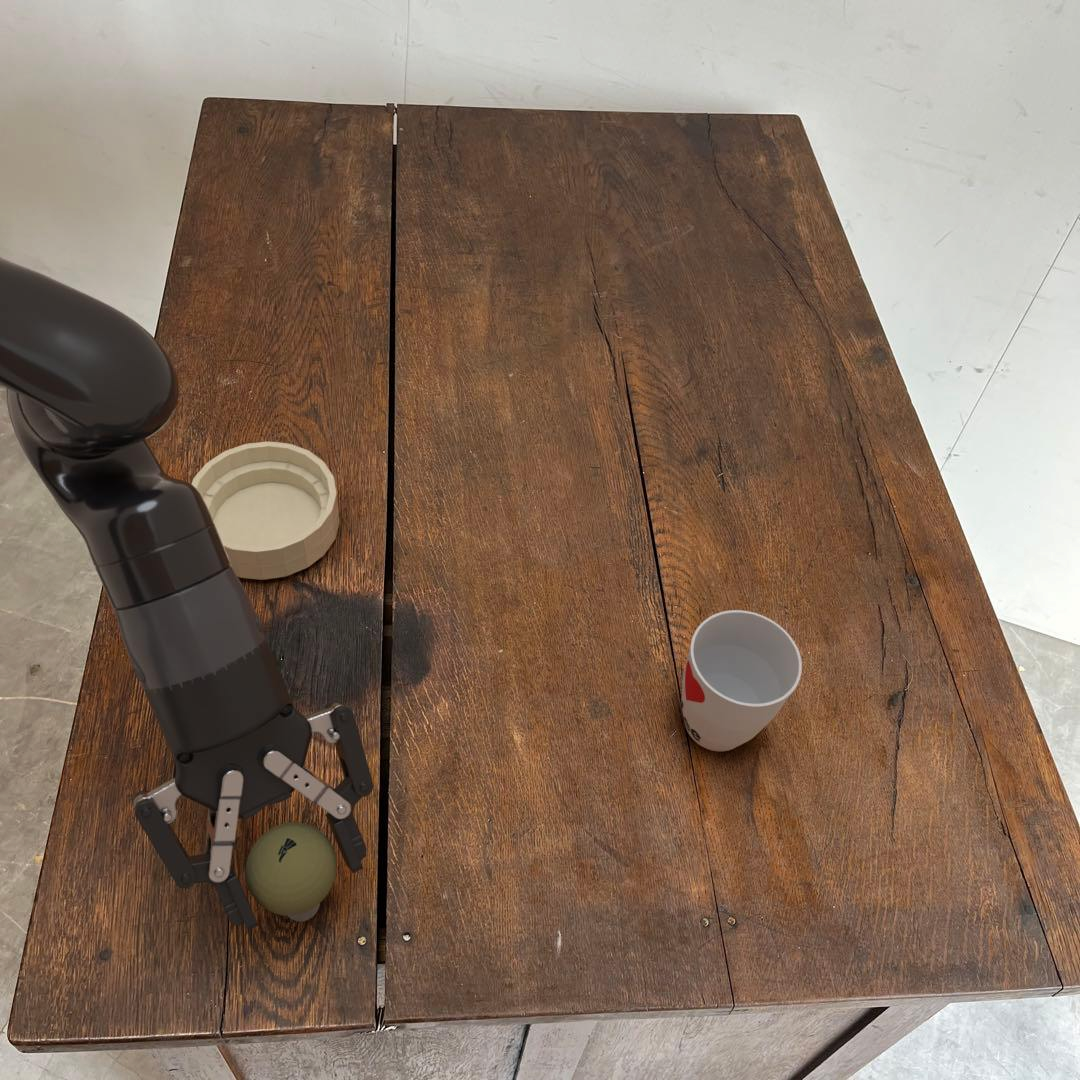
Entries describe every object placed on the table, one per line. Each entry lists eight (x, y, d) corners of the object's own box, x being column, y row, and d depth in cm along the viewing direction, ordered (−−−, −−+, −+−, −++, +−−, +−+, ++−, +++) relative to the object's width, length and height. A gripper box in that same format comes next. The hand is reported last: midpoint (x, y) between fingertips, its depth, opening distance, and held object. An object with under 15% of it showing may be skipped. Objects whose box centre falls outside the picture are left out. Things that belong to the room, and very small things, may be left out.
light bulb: (271, 862, 72) (251, 802, 64) (350, 870, 72) (341, 811, 64) (251, 944, 69) (229, 891, 61) (335, 952, 69) (323, 900, 61)
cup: (673, 668, 85) (697, 599, 77) (770, 691, 84) (805, 623, 76) (659, 755, 80) (683, 691, 72) (762, 780, 79) (798, 717, 71)
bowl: (228, 604, 85) (219, 572, 82) (176, 505, 91) (166, 471, 88) (362, 549, 90) (360, 517, 86) (305, 458, 96) (300, 424, 92)
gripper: (301, 601, 67) (388, 822, 71) (78, 695, 62) (184, 930, 65) (329, 614, 61) (425, 859, 64) (81, 721, 55) (200, 982, 59)
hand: (303, 894), depth 65 cm, fingers open, 6 cm apart
